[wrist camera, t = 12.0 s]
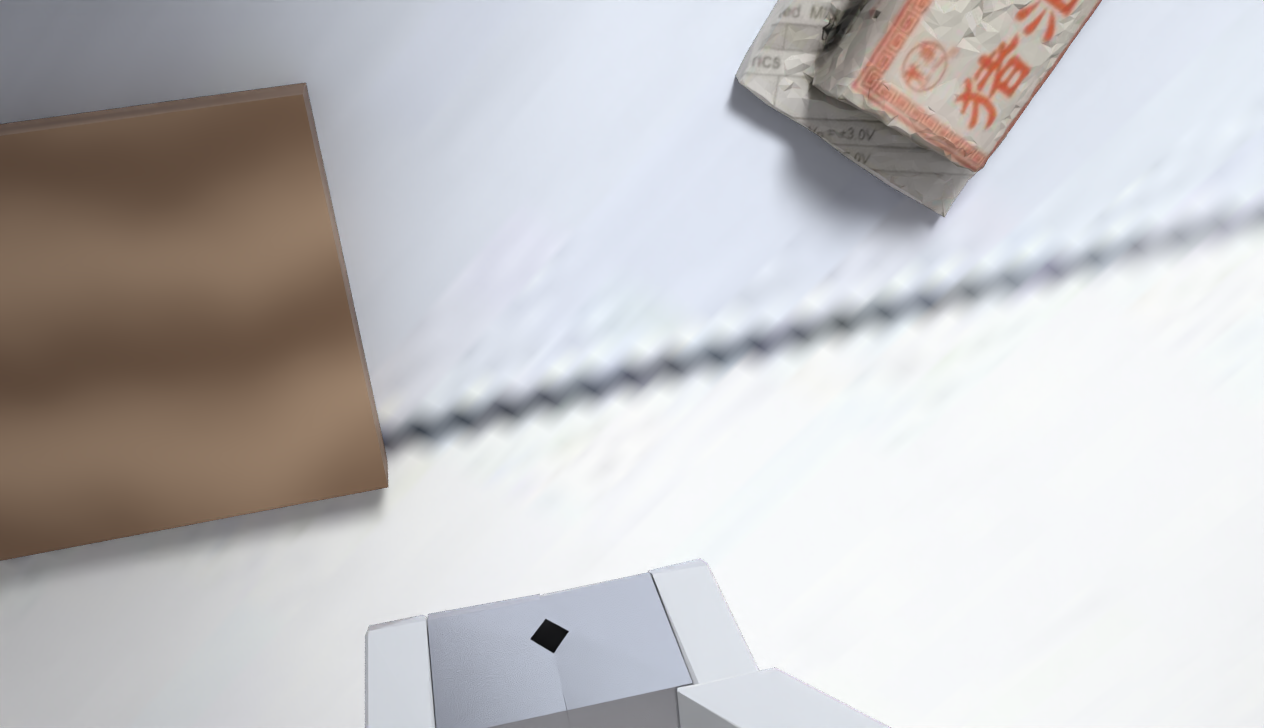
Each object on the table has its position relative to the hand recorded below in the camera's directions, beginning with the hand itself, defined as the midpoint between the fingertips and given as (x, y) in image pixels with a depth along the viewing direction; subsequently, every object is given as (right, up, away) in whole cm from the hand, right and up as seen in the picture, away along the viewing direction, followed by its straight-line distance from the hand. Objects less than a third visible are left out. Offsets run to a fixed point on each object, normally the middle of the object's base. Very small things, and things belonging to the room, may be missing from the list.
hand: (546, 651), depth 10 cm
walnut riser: (-17, +4, +28) cm, 33 cm away
